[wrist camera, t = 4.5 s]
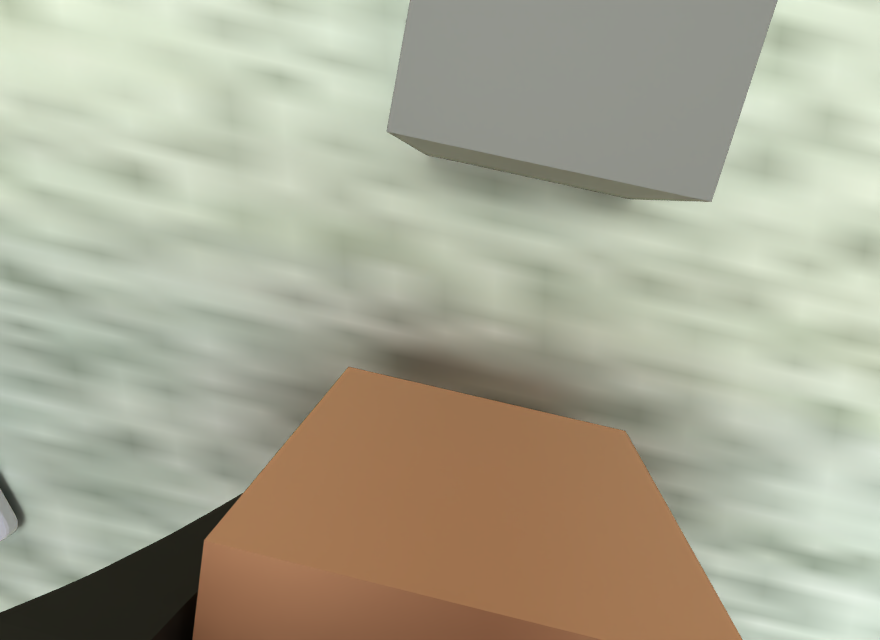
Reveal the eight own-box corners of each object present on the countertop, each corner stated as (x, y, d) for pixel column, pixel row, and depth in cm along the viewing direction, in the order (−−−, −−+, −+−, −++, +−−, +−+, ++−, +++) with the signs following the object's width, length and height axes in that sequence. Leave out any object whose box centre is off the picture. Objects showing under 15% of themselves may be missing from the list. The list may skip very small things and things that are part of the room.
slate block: (629, 198, 13) (710, 201, 8) (426, 154, 13) (386, 131, 8) (697, -32, 12) (841, -193, 7) (472, -77, 12) (456, -263, 7)
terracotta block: (552, 659, 11) (603, 1048, 6) (308, 597, 11) (159, 921, 6) (625, 431, 9) (765, 680, 5) (348, 367, 10) (204, 540, 5)
